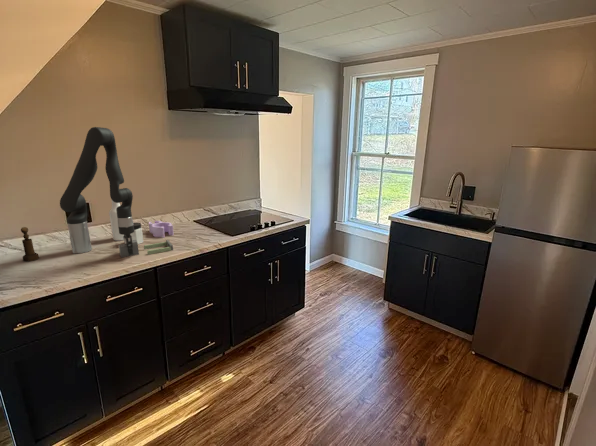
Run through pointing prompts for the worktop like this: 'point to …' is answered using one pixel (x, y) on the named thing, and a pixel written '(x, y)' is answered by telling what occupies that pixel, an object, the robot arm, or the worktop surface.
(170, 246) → the deck socket
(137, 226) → the jar
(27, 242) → the brown chess pawn
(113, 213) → the alcohol
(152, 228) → the clip
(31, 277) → the worktop surface
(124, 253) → the upright grey block
